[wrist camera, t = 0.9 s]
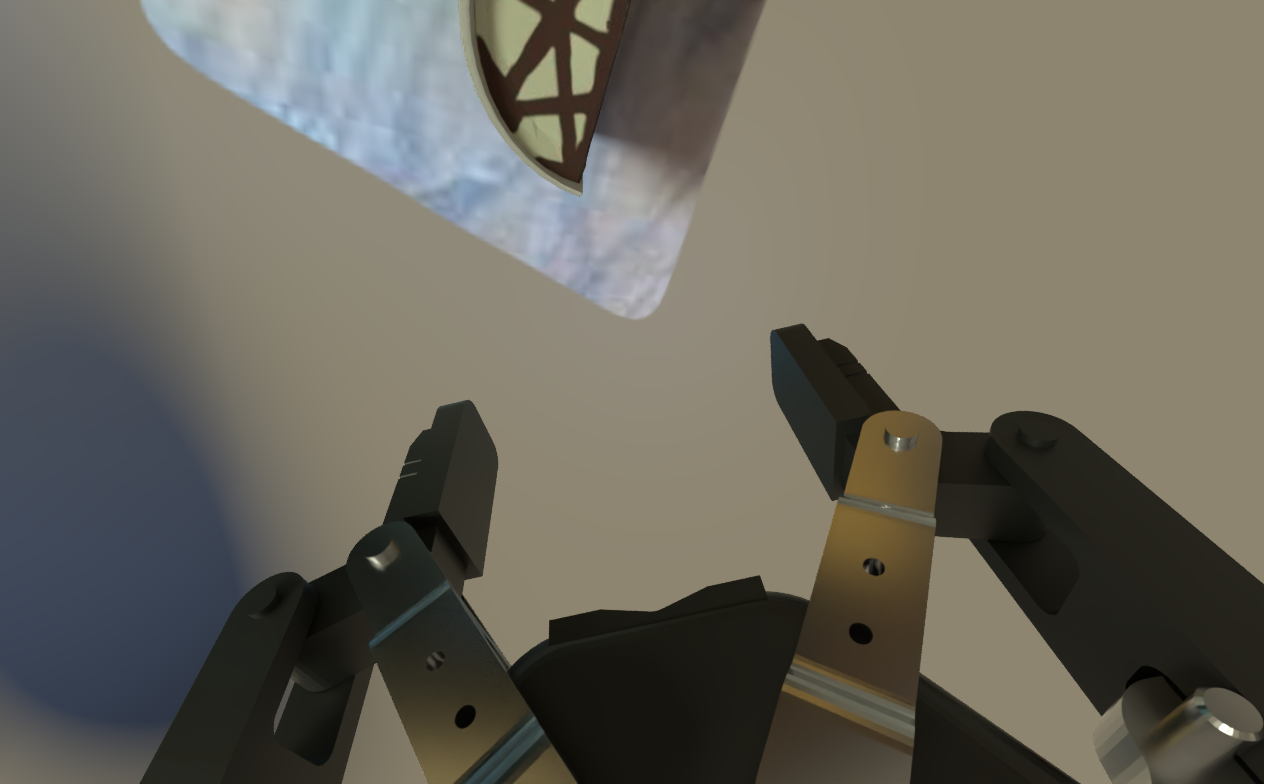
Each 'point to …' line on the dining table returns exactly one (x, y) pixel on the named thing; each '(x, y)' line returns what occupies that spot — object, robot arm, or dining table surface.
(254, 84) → the dining table surface
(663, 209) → the dining table surface
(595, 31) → the food container
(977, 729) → the robot arm
